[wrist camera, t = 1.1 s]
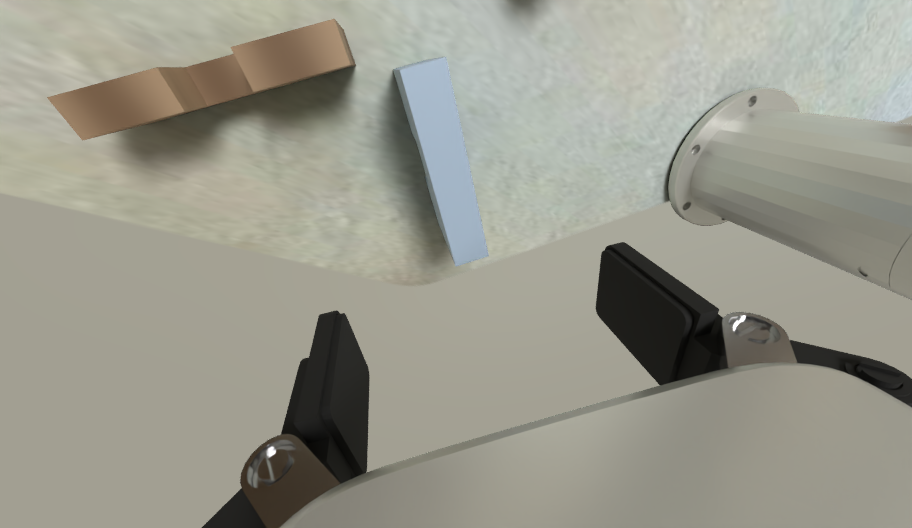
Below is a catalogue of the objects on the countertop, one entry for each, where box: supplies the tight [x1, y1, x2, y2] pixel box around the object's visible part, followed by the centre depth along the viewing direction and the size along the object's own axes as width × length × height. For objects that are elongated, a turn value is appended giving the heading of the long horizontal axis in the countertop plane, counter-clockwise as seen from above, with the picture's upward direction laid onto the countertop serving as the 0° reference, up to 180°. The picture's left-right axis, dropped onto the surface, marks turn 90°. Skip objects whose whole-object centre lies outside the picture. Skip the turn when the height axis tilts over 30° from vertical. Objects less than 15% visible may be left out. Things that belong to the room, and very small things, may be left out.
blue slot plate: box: [393, 57, 489, 266], centre depth 23 cm, size 12×2×8 cm, turn 13°
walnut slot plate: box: [47, 19, 356, 140], centre depth 19 cm, size 14×2×6 cm, turn 103°
